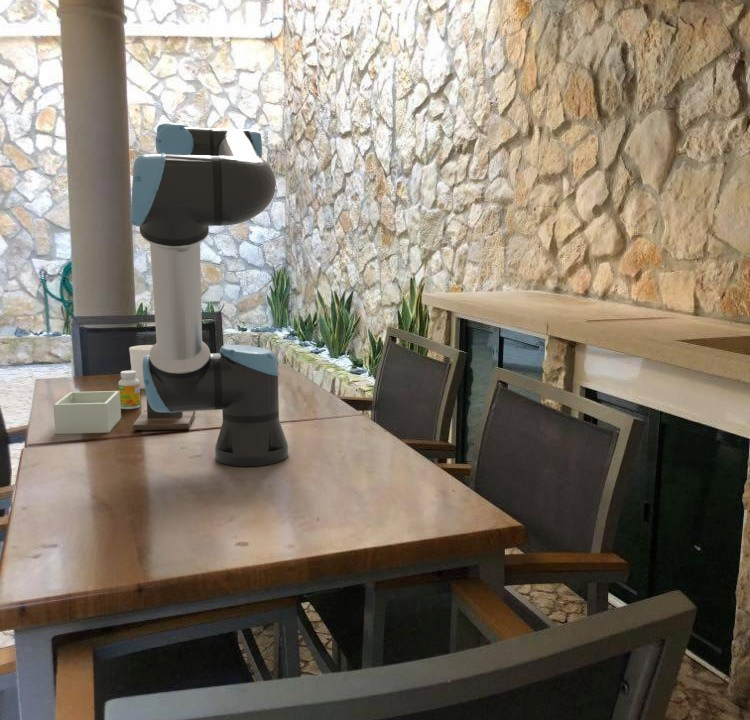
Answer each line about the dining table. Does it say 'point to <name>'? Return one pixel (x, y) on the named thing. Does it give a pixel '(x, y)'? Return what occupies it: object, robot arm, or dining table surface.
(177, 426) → the walnut lid
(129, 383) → the supplement bottle
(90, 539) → the dining table surface
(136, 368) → the candle holder
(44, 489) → the dining table surface
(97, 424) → the sage box
